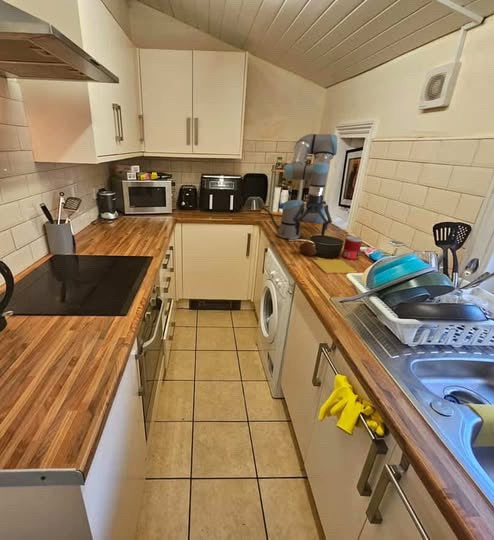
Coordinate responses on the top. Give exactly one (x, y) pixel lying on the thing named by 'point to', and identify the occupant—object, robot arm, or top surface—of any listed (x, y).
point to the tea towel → (334, 266)
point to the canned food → (352, 247)
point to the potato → (307, 249)
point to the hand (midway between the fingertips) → (309, 235)
